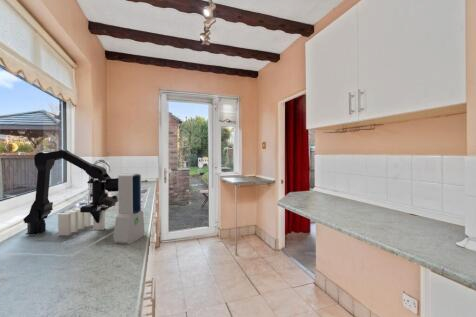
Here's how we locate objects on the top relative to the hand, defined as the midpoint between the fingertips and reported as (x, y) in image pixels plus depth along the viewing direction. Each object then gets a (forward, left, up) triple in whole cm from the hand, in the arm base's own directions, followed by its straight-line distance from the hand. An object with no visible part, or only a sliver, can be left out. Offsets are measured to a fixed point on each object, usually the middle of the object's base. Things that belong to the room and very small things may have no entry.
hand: (99, 222), depth 119 cm
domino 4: (-11, +4, -3) cm, 12 cm away
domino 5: (0, 0, -4) cm, 4 cm away
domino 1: (-11, -9, -3) cm, 14 cm away
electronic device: (+22, -11, -4) cm, 25 cm away
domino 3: (-11, -1, -3) cm, 11 cm away
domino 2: (-11, -5, -3) cm, 12 cm away
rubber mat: (-11, -6, -4) cm, 13 cm away
